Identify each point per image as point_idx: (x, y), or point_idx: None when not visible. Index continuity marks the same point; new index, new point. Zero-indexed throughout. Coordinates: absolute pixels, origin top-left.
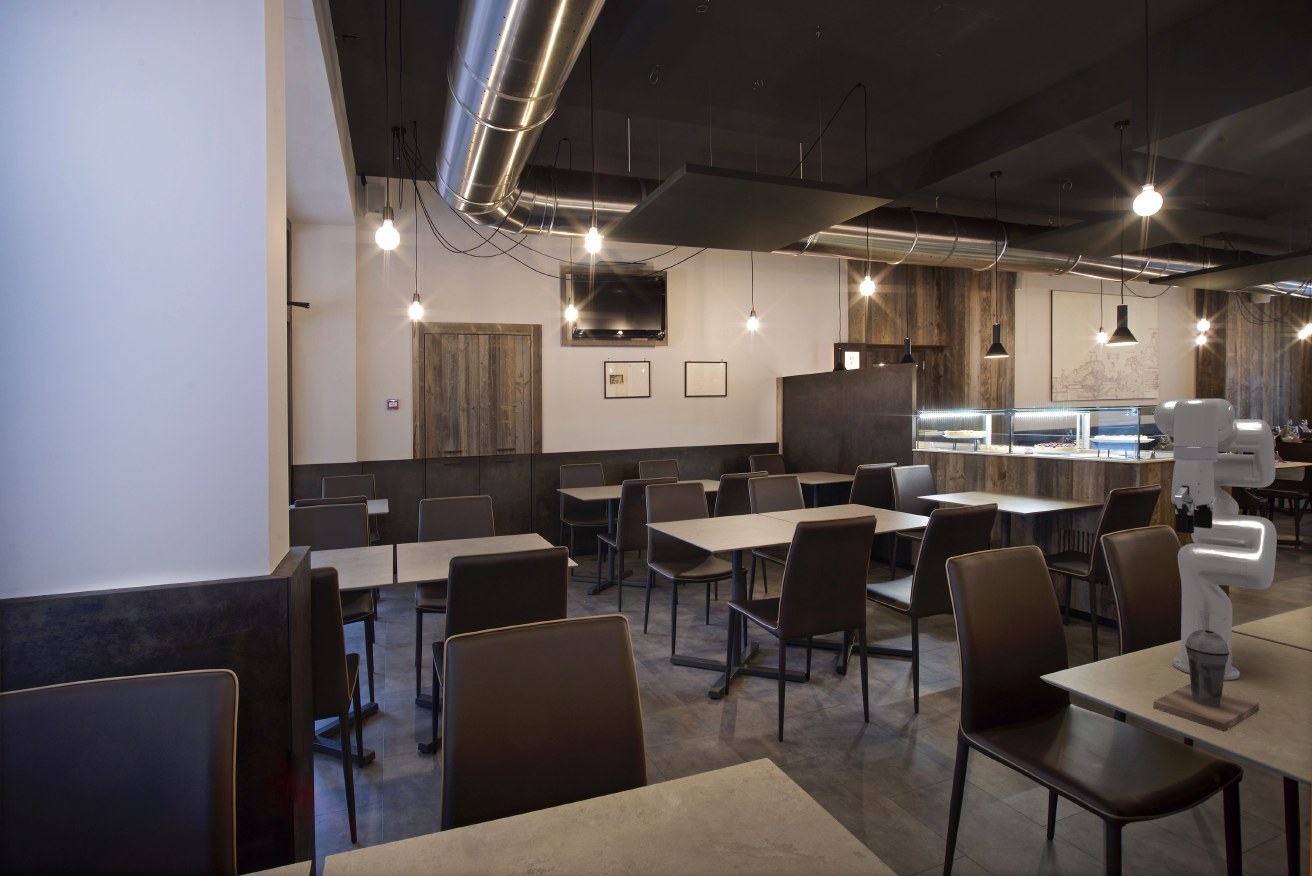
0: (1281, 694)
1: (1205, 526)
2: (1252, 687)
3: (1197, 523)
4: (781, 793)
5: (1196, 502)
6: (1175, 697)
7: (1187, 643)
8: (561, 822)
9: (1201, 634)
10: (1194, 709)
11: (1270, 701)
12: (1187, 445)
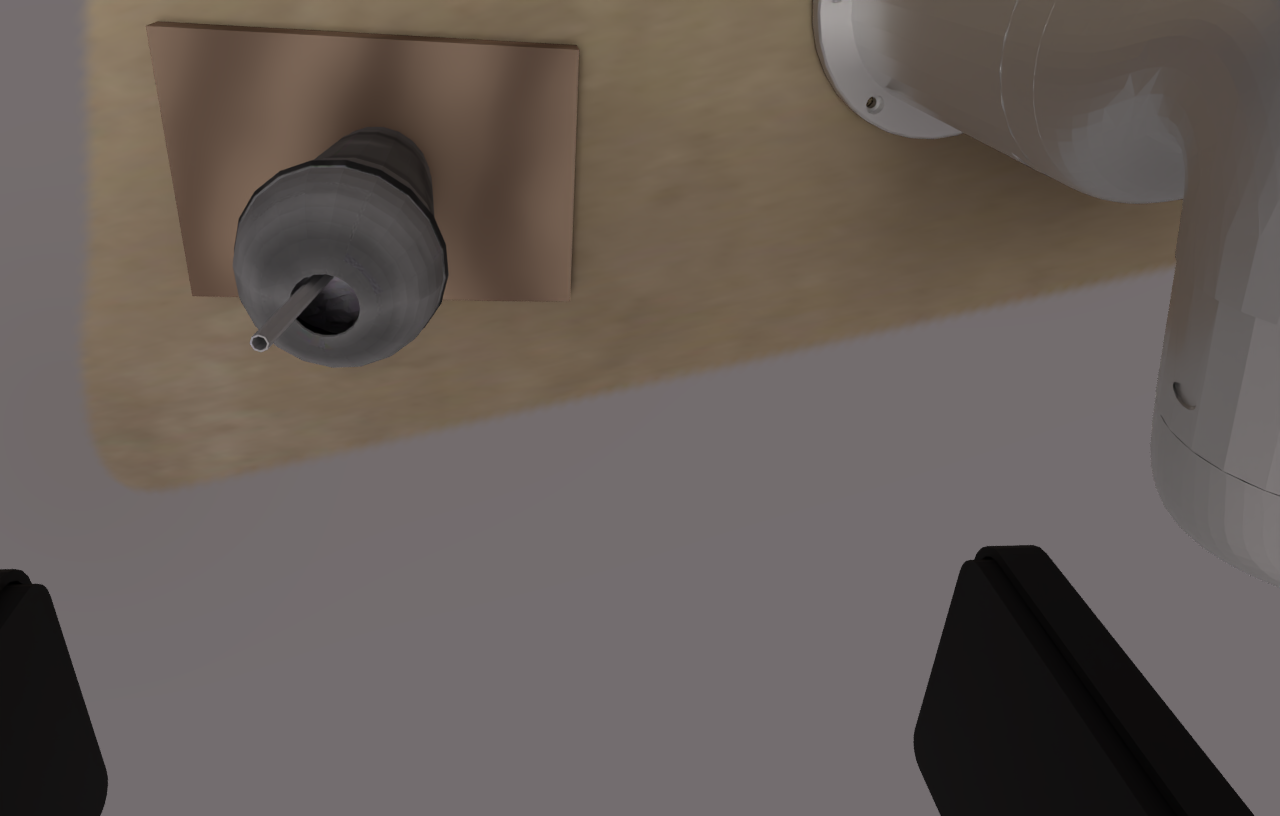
0: (841, 288)
1: (933, 715)
2: (844, 200)
3: (990, 644)
4: None
5: None
6: (304, 73)
7: (265, 193)
8: None
9: (266, 288)
10: (235, 176)
11: (717, 286)
12: None
